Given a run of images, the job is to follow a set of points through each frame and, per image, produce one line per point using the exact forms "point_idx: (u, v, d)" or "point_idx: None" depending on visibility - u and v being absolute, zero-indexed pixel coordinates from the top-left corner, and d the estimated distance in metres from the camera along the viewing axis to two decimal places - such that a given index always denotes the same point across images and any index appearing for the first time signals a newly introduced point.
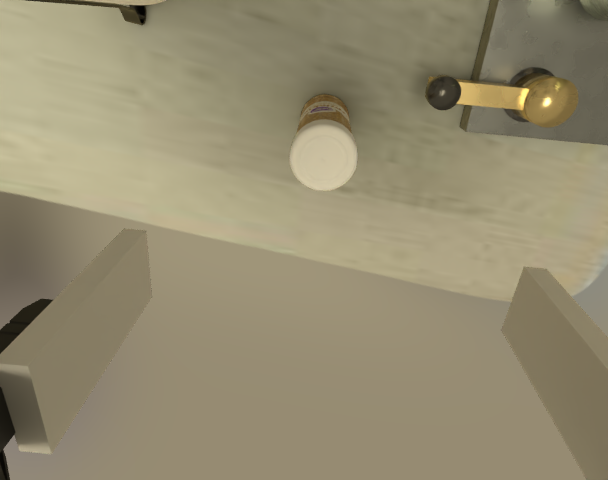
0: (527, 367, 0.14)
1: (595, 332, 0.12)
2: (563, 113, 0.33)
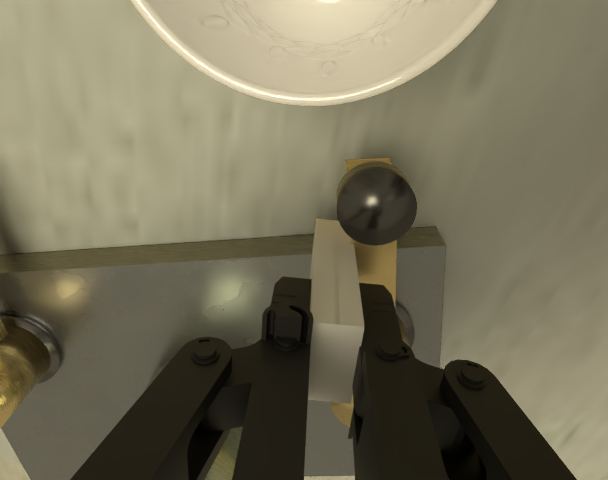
0: None
1: (349, 265, 0.14)
2: None
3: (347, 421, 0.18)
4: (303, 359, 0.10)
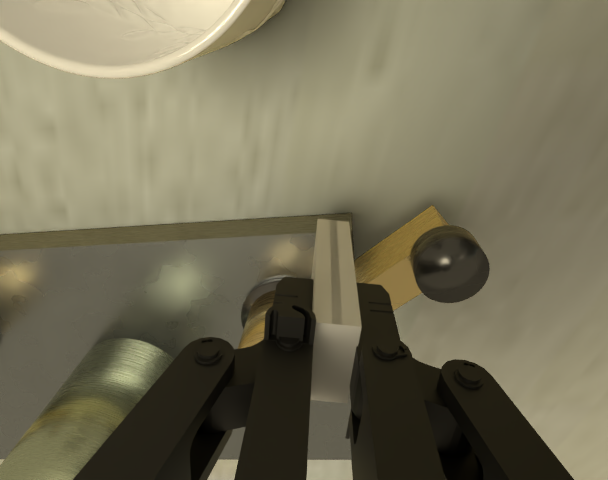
0: None
1: (347, 265, 0.14)
2: None
3: None
4: (306, 359, 0.10)
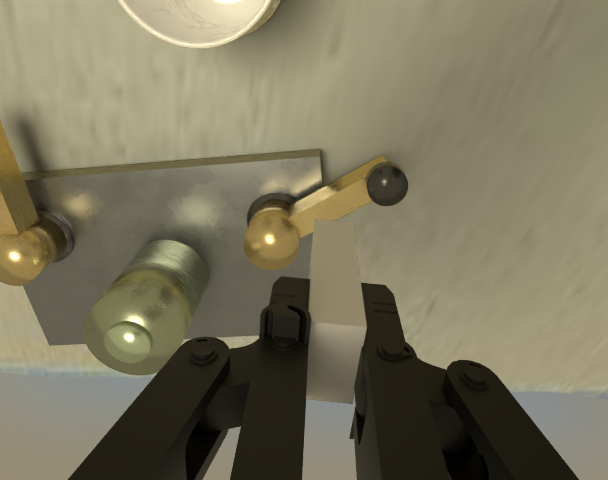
0: None
1: (351, 265, 0.14)
2: (5, 276, 0.30)
3: (247, 239, 0.28)
4: (301, 359, 0.10)
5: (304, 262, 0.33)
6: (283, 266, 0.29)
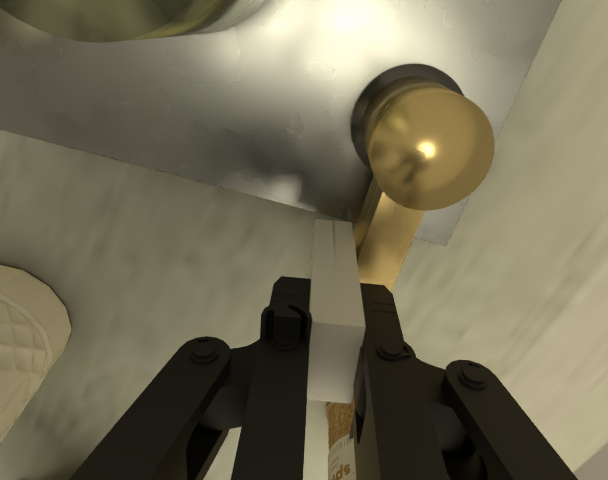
0: None
1: (350, 265, 0.14)
2: (466, 127, 0.12)
3: None
4: (302, 359, 0.10)
5: None
6: None
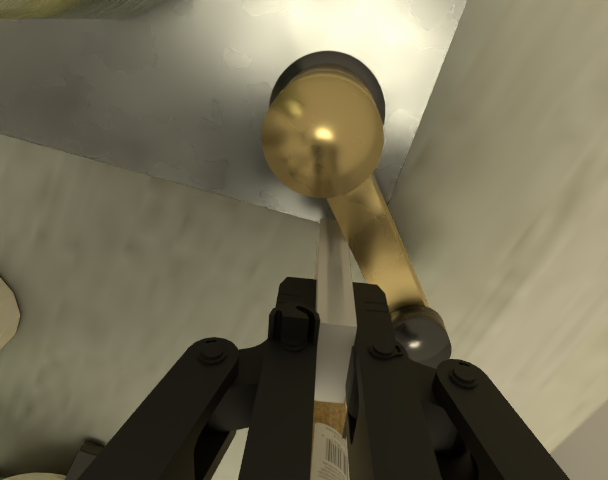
0: None
1: (343, 264, 0.14)
2: (328, 99, 0.12)
3: None
4: (310, 360, 0.10)
5: None
6: None
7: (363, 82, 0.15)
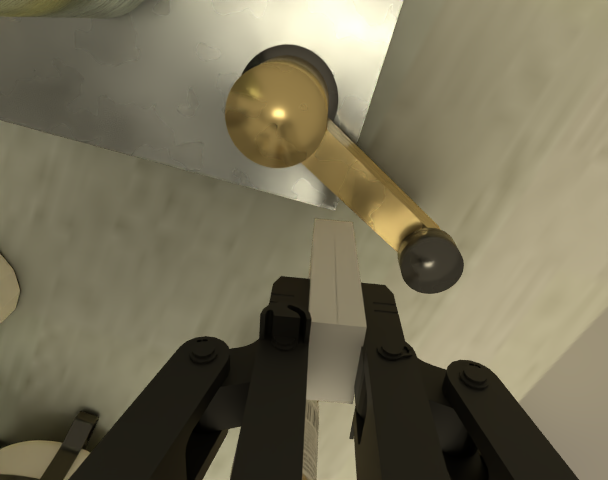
0: None
1: (351, 265, 0.14)
2: (265, 83, 0.15)
3: None
4: (301, 359, 0.10)
5: None
6: None
7: (302, 60, 0.17)
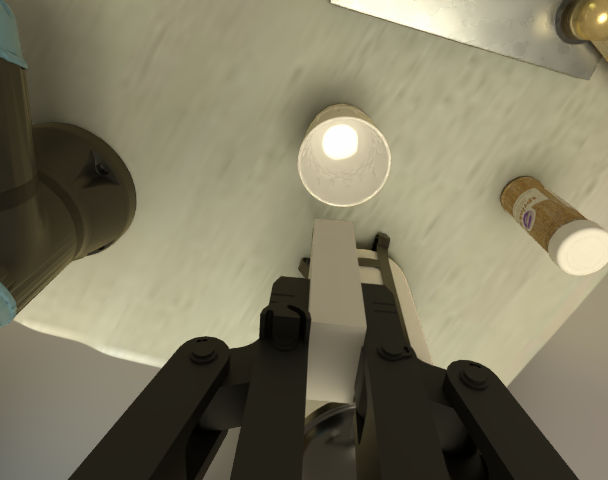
0: None
1: (351, 265, 0.14)
2: None
3: None
4: (301, 359, 0.10)
5: None
6: None
7: None
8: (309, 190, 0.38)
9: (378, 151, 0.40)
